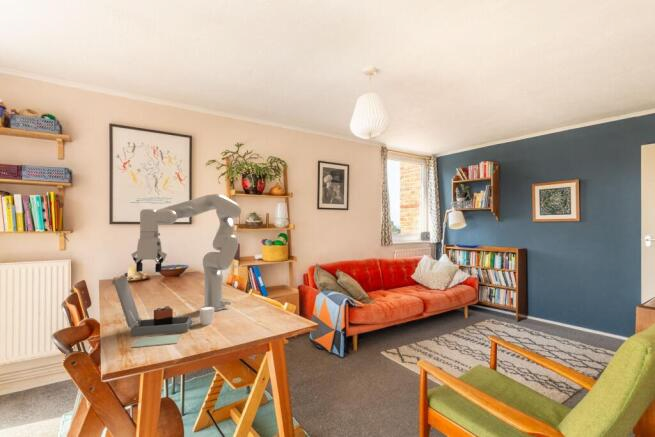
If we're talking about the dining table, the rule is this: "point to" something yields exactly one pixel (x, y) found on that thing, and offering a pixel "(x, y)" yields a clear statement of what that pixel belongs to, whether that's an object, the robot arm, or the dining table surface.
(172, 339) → the rubber mat
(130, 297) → the case lid
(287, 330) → the dining table surface
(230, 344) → the dining table surface
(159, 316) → the battery
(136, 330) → the case
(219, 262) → the robot arm
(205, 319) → the shot glass
